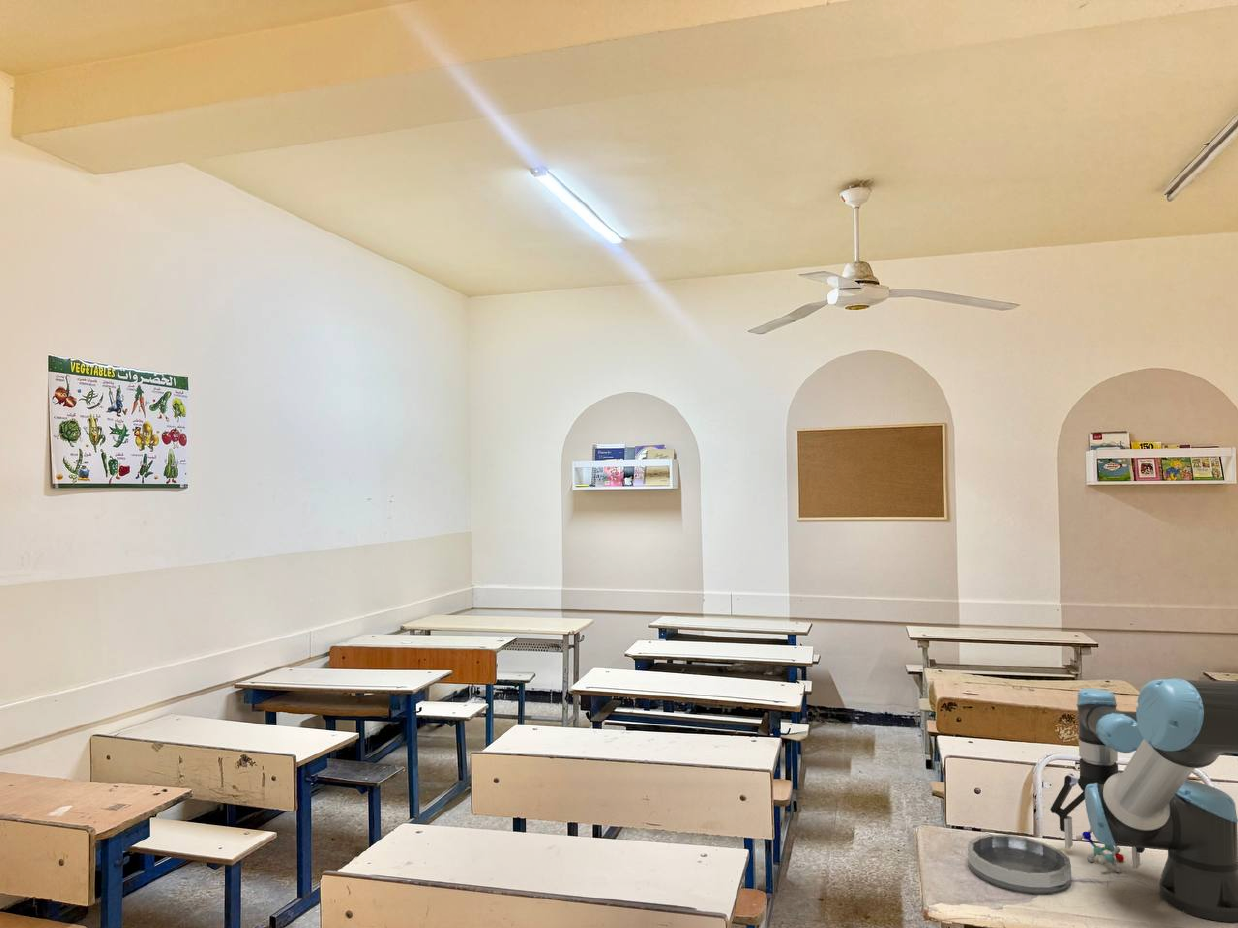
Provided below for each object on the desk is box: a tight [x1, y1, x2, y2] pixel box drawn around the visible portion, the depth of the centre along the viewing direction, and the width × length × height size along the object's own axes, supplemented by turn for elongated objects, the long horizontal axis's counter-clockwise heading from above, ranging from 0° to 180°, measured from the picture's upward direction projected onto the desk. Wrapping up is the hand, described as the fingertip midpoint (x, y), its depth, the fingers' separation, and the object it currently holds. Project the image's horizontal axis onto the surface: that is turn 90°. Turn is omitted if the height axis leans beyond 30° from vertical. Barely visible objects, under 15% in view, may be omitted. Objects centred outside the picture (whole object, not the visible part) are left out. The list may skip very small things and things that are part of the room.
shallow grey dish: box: [967, 834, 1072, 896], centre depth 177 cm, size 20×20×4 cm
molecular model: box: [1075, 827, 1125, 874], centre depth 181 cm, size 12×10×10 cm
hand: (1101, 856), depth 181 cm, fingers open, 13 cm apart
